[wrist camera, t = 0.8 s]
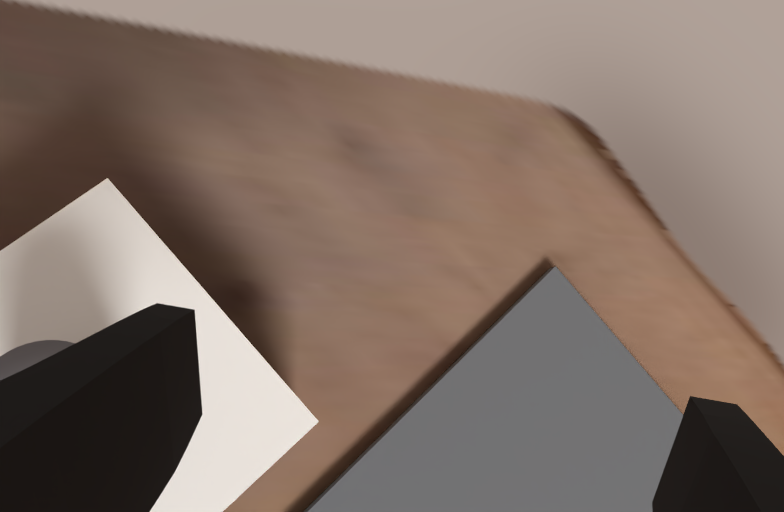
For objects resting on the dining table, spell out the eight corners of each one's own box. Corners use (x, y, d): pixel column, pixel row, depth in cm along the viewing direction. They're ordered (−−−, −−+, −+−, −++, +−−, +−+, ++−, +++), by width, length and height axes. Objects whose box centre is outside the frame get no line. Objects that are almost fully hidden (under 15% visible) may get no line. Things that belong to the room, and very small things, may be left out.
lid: (49, 662, 18) (-7, 757, 13) (-180, 401, 18) (-326, 397, 13) (309, 420, 21) (343, 423, 16) (114, 196, 21) (89, 129, 16)
